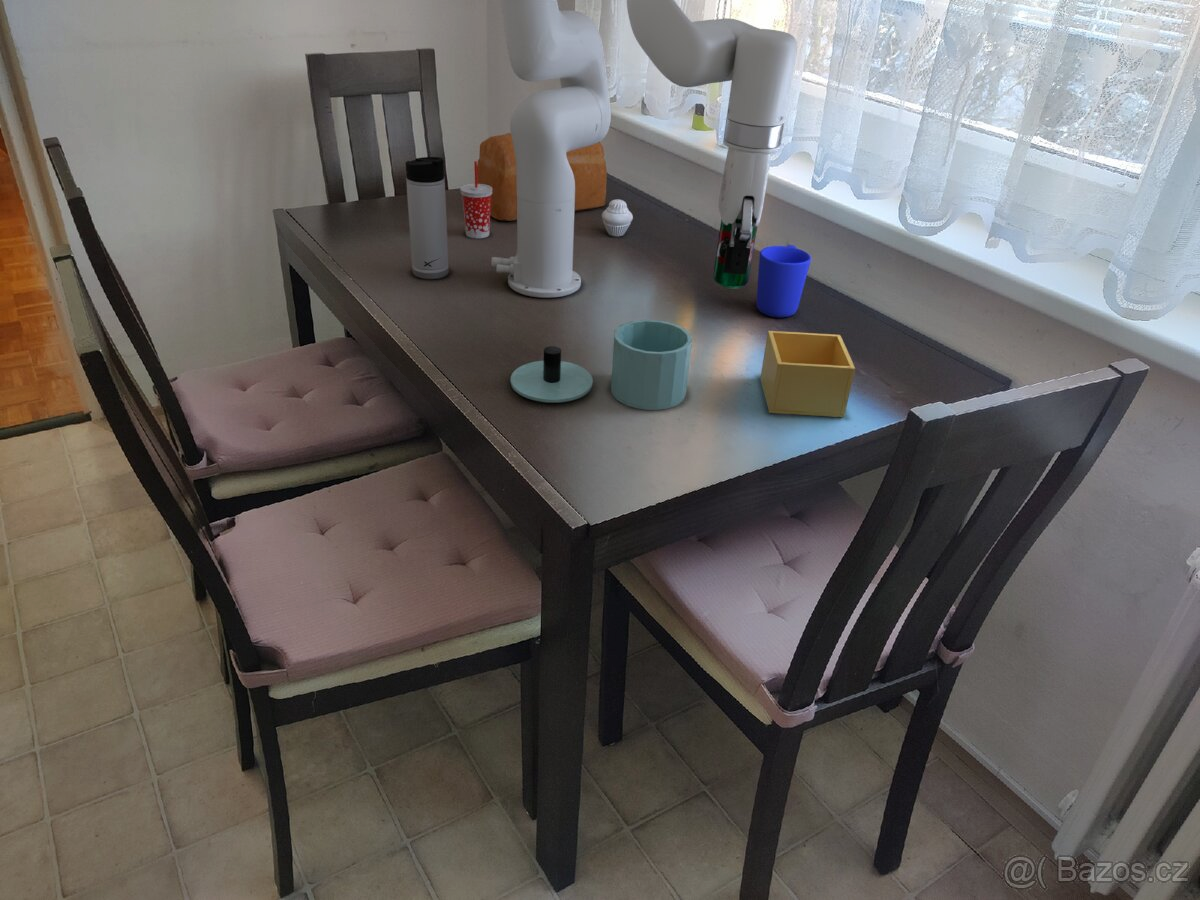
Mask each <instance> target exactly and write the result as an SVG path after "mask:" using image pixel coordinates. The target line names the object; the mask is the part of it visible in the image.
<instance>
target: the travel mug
mask: <svg viewBox="0 0 1200 900" xmlns="http://www.w3.org/2000/svg"><path fill="white" fill-rule="evenodd" d="M444 161H445V160H444V158H443V157H440V156H425V157H424V156H423V157H422V156H421V157H416V158H414V159H413V160H407V161H405V172H406V175H405V180H406V194H407V195H406V196H407V210H408V225H409V226H408V227H409V239H410V241H409V242H410V257H411V271H412V275H414V276H415V277H417V278H419V279H423V280H437V279H442V278H444V277H446V276H448V274H449V273H450V270H449V269H450V267H449V265H450V264H449V246H448V244H449V243H448V225H447V224H448V223H447V222H448V221H447V201H446V200H447V199H446V198H447V197H446V182H445V181H446V179H445V173H444V172H445V162H444Z"/></svg>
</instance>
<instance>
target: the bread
mask: <svg viewBox="0 0 1200 900" xmlns="http://www.w3.org/2000/svg"><path fill="white" fill-rule="evenodd" d="M478 155H479V156H478V159H477V184H485V185H488V186H490V187H492V189H493V191H492V194H491V210H490V217H492V218H493V219H495V220H498V221H501V222H502V221H504V222H511V221H517V173H516V159H515V152H514V146H513V141H512V136H511V132H508V133H504V134H501V135H499V134H498V135H492V136H489V137H488V138H486V139H485V140H483V141H482V142H481V143H480V144H479V154H478ZM566 157H567V160H568V163H569V165H570V167H571V169H572V172H573V175H574V179H575V209H574V212H579V211H586V210H592V209H598V208H601V207H605V205H606V197H607V182H608V181H607V180H608V179H607V177H608V173H607V172H608V171H607V163H606V160H605V149H604V146H603V144H602V143H601V141H600V142H598V143H597V144H594V145H592V146H588V147H584V148H580V149H576V150H572V151H569V152H566Z"/></svg>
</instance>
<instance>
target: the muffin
mask: <svg viewBox="0 0 1200 900" xmlns="http://www.w3.org/2000/svg"><path fill="white" fill-rule="evenodd" d="M601 219H602V223H603V225H604V228H605V230H606V233H607V234H608V235H609V236H611V237H623V236H624V235H625V233H626V232H627V231H628V229H629V227H630V225H631V224H632V223H631V222H632V221H633V219H634V217H633V213H632V212H631V211H630V210H629V208H628V204H627V202H626V201H624V200H623V199H619V198H617V199H612V200H611V201H609V203H608V206H607V207H606V209H605V210H603V212H602V213H601Z"/></svg>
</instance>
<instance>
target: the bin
mask: <svg viewBox="0 0 1200 900" xmlns="http://www.w3.org/2000/svg"><path fill="white" fill-rule="evenodd" d="M855 373H856V367H855V364H854V363H853V360H852V357H851V356H850V353H849V351H848V349H847V346H846V344H845V342H844V340H843V338H842V336H841V334H834V333H833V334H830V333H817V332H815V333H813V332H798V331H780V330H768V331H767V335H766V341H765V347H764V353H763V359H762V366H761V371H760V376H759V377H760V382H761V386H762V389H763V394H764V397H765V401H766V406H767V409H768V413H769V414H781V415H798V416H813V417H814V416H815V417H818V416H819V417H832V418H845V416H846V411H847V407H848V402H849V398H850V394H851V389H852V385H853V381H854V377H855Z"/></svg>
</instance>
